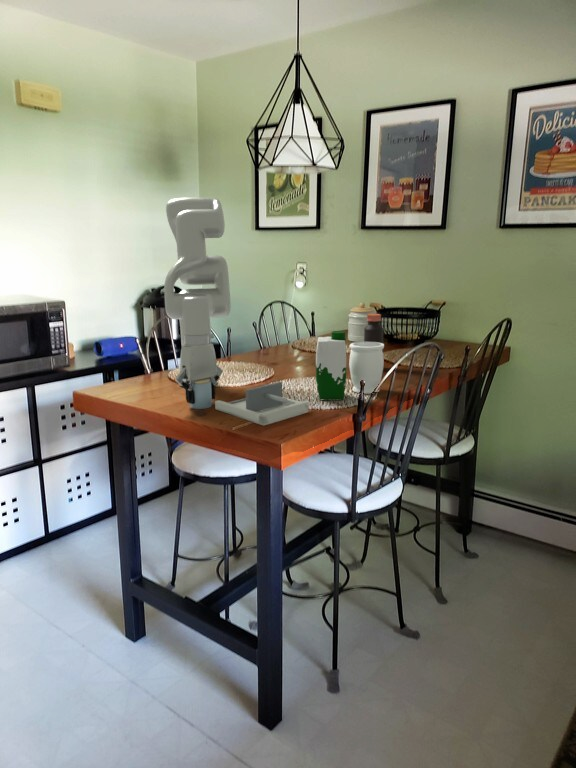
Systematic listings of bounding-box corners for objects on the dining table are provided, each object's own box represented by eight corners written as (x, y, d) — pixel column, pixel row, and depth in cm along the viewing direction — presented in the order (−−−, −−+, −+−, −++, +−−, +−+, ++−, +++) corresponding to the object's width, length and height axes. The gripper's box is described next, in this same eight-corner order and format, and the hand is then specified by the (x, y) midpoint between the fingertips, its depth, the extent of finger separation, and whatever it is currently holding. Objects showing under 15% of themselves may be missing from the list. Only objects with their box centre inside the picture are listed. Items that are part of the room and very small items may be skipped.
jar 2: (379, 386, 184) (380, 340, 180) (385, 394, 174) (387, 346, 170) (346, 387, 184) (347, 341, 180) (351, 395, 174) (352, 347, 170)
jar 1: (352, 343, 260) (353, 304, 256) (344, 338, 273) (344, 301, 268) (379, 341, 263) (380, 303, 258) (369, 337, 275) (370, 300, 271)
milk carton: (346, 401, 168) (347, 334, 163) (316, 401, 168) (316, 334, 163) (344, 393, 177) (345, 329, 172) (315, 393, 177) (315, 329, 172)
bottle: (371, 365, 214) (372, 312, 209) (385, 368, 209) (387, 314, 204) (359, 368, 209) (360, 314, 204) (374, 371, 204) (376, 316, 199)
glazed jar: (185, 405, 166) (184, 379, 164) (204, 401, 170) (202, 375, 168) (198, 410, 161) (196, 383, 159) (216, 405, 165) (215, 379, 164)
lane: (215, 409, 162) (214, 399, 161) (259, 397, 173) (259, 388, 172) (263, 425, 147) (263, 414, 146) (308, 412, 158) (308, 401, 157)
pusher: (246, 412, 155) (245, 389, 153) (279, 403, 163) (279, 381, 161) (268, 420, 148) (267, 396, 147) (302, 410, 157) (302, 387, 155)
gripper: (214, 334, 169) (217, 392, 174) (164, 342, 158) (168, 404, 162) (230, 337, 164) (232, 397, 168) (178, 345, 152) (182, 409, 157)
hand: (201, 400), depth 165 cm, fingers closed on glazed jar, 6 cm apart
